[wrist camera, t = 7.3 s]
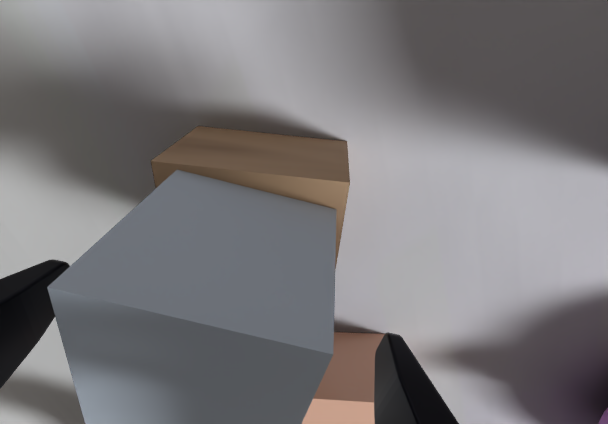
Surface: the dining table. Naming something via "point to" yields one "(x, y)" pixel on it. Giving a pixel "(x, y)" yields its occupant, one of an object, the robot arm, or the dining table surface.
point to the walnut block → (265, 165)
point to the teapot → (604, 417)
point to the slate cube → (202, 308)
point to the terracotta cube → (347, 382)
